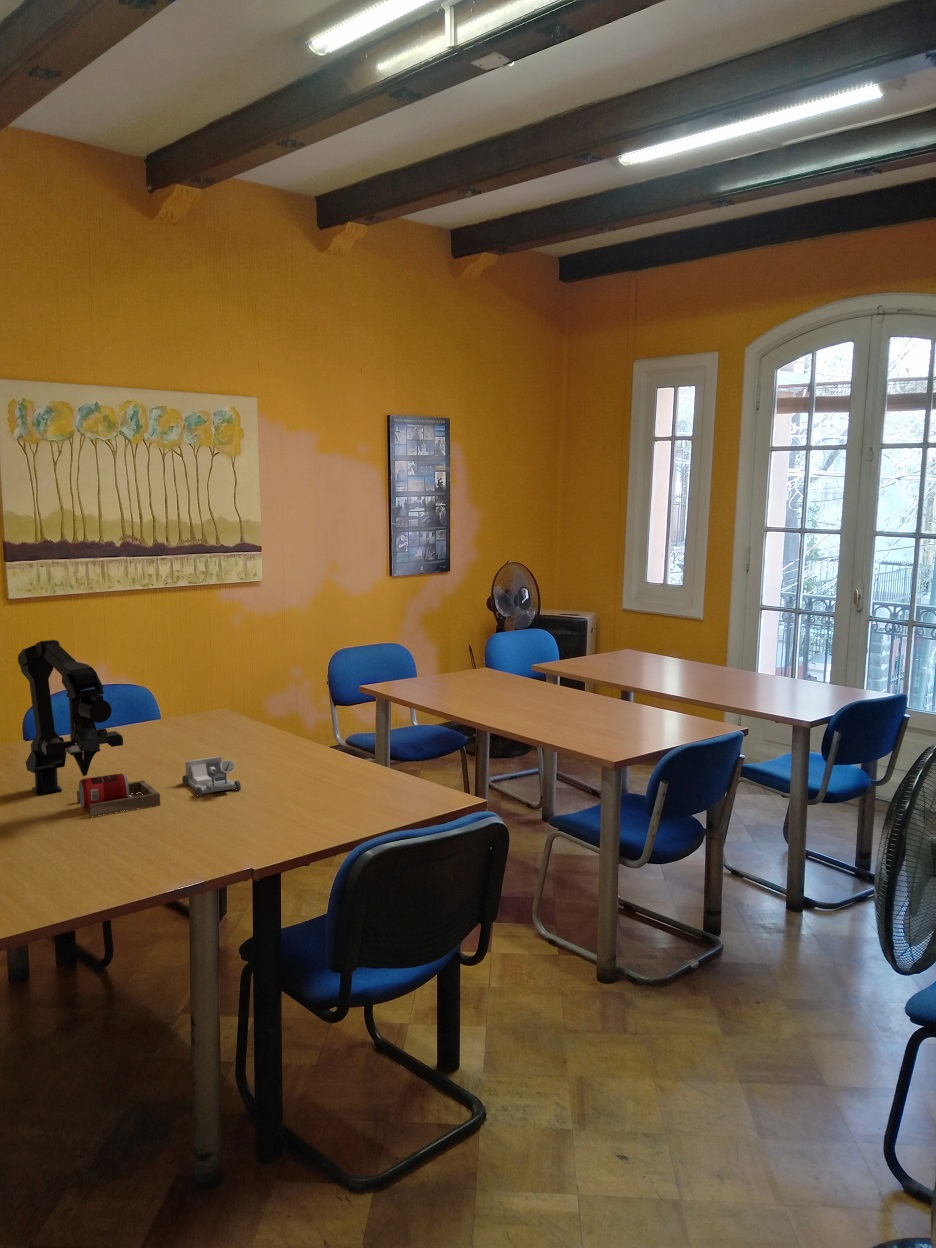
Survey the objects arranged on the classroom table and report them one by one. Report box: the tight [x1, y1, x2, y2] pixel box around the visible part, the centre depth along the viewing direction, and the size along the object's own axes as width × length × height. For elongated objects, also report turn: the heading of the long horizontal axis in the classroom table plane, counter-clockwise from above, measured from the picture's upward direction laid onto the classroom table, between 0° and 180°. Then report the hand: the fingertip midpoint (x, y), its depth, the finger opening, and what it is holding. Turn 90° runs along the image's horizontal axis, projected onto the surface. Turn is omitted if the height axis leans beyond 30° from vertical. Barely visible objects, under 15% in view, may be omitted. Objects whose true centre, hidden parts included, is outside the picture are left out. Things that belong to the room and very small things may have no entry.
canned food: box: [78, 772, 129, 810], centre depth 246 cm, size 8×8×11 cm
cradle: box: [76, 779, 161, 818], centre depth 250 cm, size 14×17×3 cm
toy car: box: [182, 755, 242, 798], centre depth 263 cm, size 18×10×12 cm
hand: (84, 775), depth 244 cm, fingers closed
